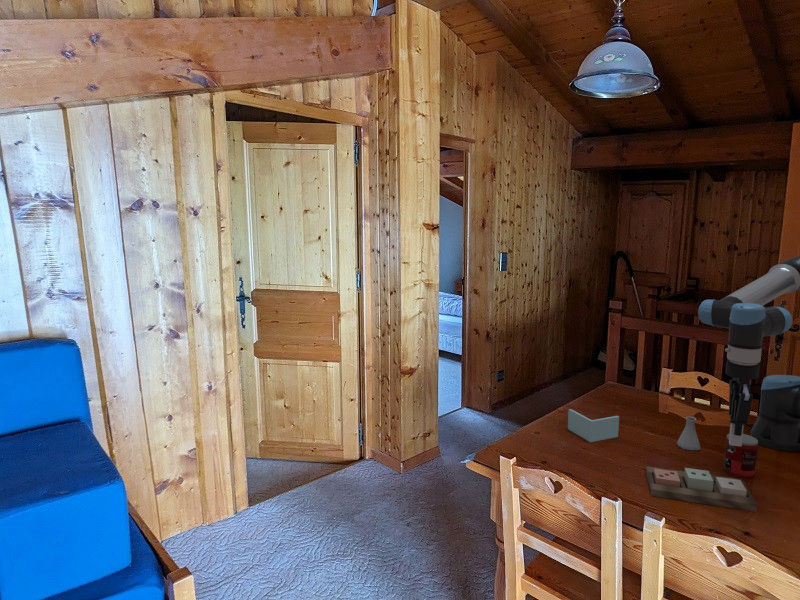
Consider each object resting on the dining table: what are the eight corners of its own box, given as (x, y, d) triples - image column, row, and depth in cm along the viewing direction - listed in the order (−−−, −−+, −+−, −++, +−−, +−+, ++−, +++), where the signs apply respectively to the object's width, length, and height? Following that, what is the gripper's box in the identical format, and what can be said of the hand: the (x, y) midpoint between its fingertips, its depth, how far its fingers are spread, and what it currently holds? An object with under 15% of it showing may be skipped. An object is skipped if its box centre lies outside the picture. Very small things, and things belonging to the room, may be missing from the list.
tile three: (675, 481, 151) (676, 471, 151) (679, 491, 146) (680, 481, 145) (653, 478, 153) (653, 468, 153) (655, 488, 148) (656, 477, 147)
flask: (704, 452, 171) (706, 423, 169) (680, 450, 172) (682, 421, 170) (696, 442, 178) (699, 415, 176) (673, 441, 179) (675, 413, 177)
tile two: (707, 481, 148) (708, 470, 148) (712, 491, 143) (713, 480, 142) (683, 478, 150) (684, 467, 150) (687, 488, 145) (688, 477, 144)
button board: (741, 485, 149) (742, 479, 149) (756, 511, 136) (757, 504, 136) (645, 472, 157) (646, 466, 157) (651, 495, 144) (652, 489, 144)
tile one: (739, 490, 146) (740, 479, 145) (745, 501, 140) (746, 490, 140) (715, 487, 148) (716, 476, 147) (720, 498, 142) (721, 486, 142)
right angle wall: (617, 436, 183) (619, 416, 182) (590, 442, 179) (591, 421, 177) (594, 424, 194) (595, 405, 193) (567, 429, 190) (568, 409, 189)
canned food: (725, 463, 163) (728, 430, 161) (756, 471, 158) (759, 437, 156) (721, 472, 157) (724, 438, 155) (753, 481, 152) (756, 445, 150)
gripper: (720, 354, 146) (713, 433, 149) (733, 367, 133) (725, 453, 137) (751, 356, 143) (744, 436, 147) (767, 369, 131) (758, 457, 135)
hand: (735, 444), depth 142 cm, fingers closed
